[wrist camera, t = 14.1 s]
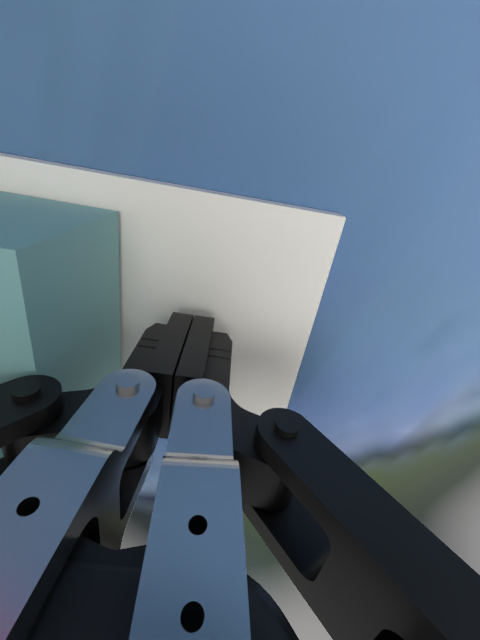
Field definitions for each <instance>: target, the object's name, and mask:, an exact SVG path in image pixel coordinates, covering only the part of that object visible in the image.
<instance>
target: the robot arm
mask: <svg viewBox="0 0 480 640" xmlns="http://www.w3.org/2000/svg"><path fill="white" fill-rule="evenodd" d="M214 321H215V318H212V317H205V316H199V315H195V316H194V315H192V314H185V313H178V312H173V313H172V315H171V317H170V319H169V321H168V323H167V324H160V323H155V324H153V325H152V326H150V327H148V328H147V329H146V330H145V331H144V333H143V335H142V336H141V339H140V340H139V341H138V343H137V345H136V346H135V348H134V350H133V351H132V353H131V355H130V356H129V358H128V360H127V361H126V363H125V365H124V367H123V368H122V370H118V371H115V372H112V373H110V374H108V375H107V376H105V377H104V378H103V379H102V380H101V381H100V382H99V384H98V385H97V386H96V388H93V389H88V390H78V391H67V392H62V386H61V383H60V382H59V381H58V380H57V379H55V378H53V377H50V376H46V375H28V376H23V377H19V378H16V379H13V380H10V381H7V382H4V383H2V384H0V448H1V449H2V453H3V456H4V457H2V458H0V640H299V639H298V637H297V635H296V634H295V632H294V630H293V629H292V627H291V625H290V623H289V622H288V620H287V619H286V617H285V615H284V614H283V612H282V611H281V609H280V608H279V606H278V605H277V604H276V602H275V601H274V600H273V599H272V597H271V596H270V595H269V594H268V593H267V592H266V591H265V590H264V589H263V587H261V585H260V584H259V583H257V582H256V581H255V580H254V579H252V578H251V577H250V576H249V575H248V574H247V572H246V557H245V543H244V526H243V511H244V513H245V514H246V516H247V517H248V519H249V520H250V522H251V523H252V525H253V526H254V527H255V529H256V530H257V531H258V533H259V535H260V536H261V537H262V539H263V540H264V541H265V543H266V545H267V546H268V547H269V549H270V550H271V552H272V553H273V555H274V556H275V557H276V559H277V560H278V561H279V563H280V565H281V566H282V567H283V569H284V570H285V572H286V573H287V575H288V576H289V577H290V579H291V580H292V582H293V583H294V585H295V586H296V587H297V589H298V590H299V592H300V593H301V595H302V596H303V597H304V599H305V600H306V602H307V603H308V605H309V606H310V607H311V609H312V610H313V612H314V613H315V614H316V616H317V617H318V619H319V620H320V622H321V623H322V625H323V626H324V627H325V629H326V630H327V632H328V633H329V635H330V636H331V637H332V639H333V640H480V575H479V574H477V573H476V572H475V571H474V570H473V569H472V568H471V567H470V566H469V565H468V564H466V563H465V562H464V561H463V560H462V559H461V558H460V557H458V555H456V554H455V553H454V552H453V551H452V550H451V549H450V548H449V547H448V546H446V545H445V544H444V543H443V542H442V541H441V540H440V539H439V538H438V537H436V536H435V535H434V534H433V533H432V532H431V531H430V530H428V528H426V527H425V526H424V525H423V524H422V523H421V522H420V521H419V520H418V519H416V518H415V517H414V516H413V515H412V514H411V513H410V512H409V511H408V510H406V509H405V508H404V507H403V506H402V505H401V504H400V503H399V502H397V501H396V500H395V499H394V498H393V497H392V496H391V495H390V494H389V493H387V492H386V491H385V490H384V489H383V488H382V487H381V486H379V485H378V484H377V483H376V482H375V481H374V480H373V479H372V478H371V477H370V476H369V475H367V474H366V473H365V472H364V471H363V470H362V469H361V468H360V467H359V466H357V465H356V464H355V463H354V462H353V461H352V460H351V459H350V458H349V457H347V456H346V455H345V454H344V453H343V452H342V451H341V450H340V449H339V448H337V447H336V446H335V445H334V444H333V443H332V442H331V441H330V440H329V439H327V438H326V437H325V436H324V435H323V434H322V433H321V432H320V431H319V430H317V429H316V428H315V427H314V426H313V425H312V424H311V423H310V422H309V421H307V420H306V419H305V418H304V417H303V416H301V415H300V414H298V413H297V412H294V411H292V410H289V409H285V408H271V409H268V410H266V411H264V412H263V413H262V414H261V415H260V416H259V415H257V414H254V413H252V412H249V411H247V410H245V409H243V408H242V407H240V406H239V405H238V404H237V403H236V402H235V401H234V400H233V399H232V397H231V395H230V392H229V385H230V370H231V356H232V340H231V339H230V337H229V335H228V334H227V333H222V332H215V331H213V328H214ZM169 432H170V433H169ZM168 435H169V439H168ZM158 437H159V438H167V439H168V445H167V450H166V455H165V456H164V457H163V460H162V465H161V470H160V475H159V481H158V486H157V491H156V497H155V502H154V507H153V513H152V518H151V523H150V529H149V534H148V539H147V544H146V545H143V546H138V547H132V548H126V549H120V548H121V543H122V538H123V535H124V531H125V528H126V525H127V523H128V520H129V518H130V515H131V513H132V510H133V508H134V505H135V503H136V500H137V498H138V495H139V493H140V491H141V488H142V486H143V483H144V481H145V478H146V476H147V473H148V471H149V468H150V466H151V463H152V459H153V452H154V450H155V447H156V444H157V441H158ZM242 510H243V511H242Z"/></svg>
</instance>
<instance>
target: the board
mask: <svg viewBox="0 0 480 640" xmlns="http://www.w3.org/2000/svg"><path fill="white" fill-rule="evenodd" d="M0 191H4V192H9V193H15V194H21V195H27V196H33V197H38V198H44V199H50V200H56V201H62V202H68V203H73V204H79V205H85V206H91V207H97V208H102V209H108V210H114V211H118V227H119V291H120V355H121V370H122V368H123V367H124V365H125V363H126V361H127V360H128V358H129V356H130V355H131V353H132V351H133V350H134V348H135V346H136V345H137V343H138V341H139V340H140V339H141V336H142V335H143V333H144V331H145V330H146V329H147V328H148V327H150V326H152V325H153V324H155V323H160V324H167V323H168V321H169V319H170V317H171V315H172V313H173V312H178V313H185V314H192V315H194V316H195V315H199V316H205V317H212V318H215V321H214V328H213V331H215V332H222V333H227V334H228V335H229V337H230V339H231V340H232V356H231V370H230V385H229V392H230V395H231V397H232V399H233V400H234V401H235V402H236V403H237V404H238V405H239V406H240V407H242V408H243V409H245V410H247V411H249V412H252V413H254V414H257V415H259V416H260V415H261V414H262V413H263V412H264V411H266V410H268V409H271V408H285V409H287V407H288V403H289V400H290V397H291V394H292V390H293V387H294V384H295V381H296V378H297V374H298V371H299V368H300V365H301V362H302V358H303V355H304V352H305V349H306V345H307V342H308V339H309V336H310V333H311V329H312V326H313V323H314V320H315V316H316V313H317V310H318V307H319V304H320V300H321V297H322V294H323V291H324V288H325V284H326V281H327V278H328V275H329V271H330V268H331V265H332V262H333V259H334V255H335V252H336V249H337V246H338V243H339V239H340V236H341V233H342V230H343V226H344V223H345V220H346V217H344V216H343V215H341V214H339V213H335V212H329V211H324V210H318V209H312V208H307V207H301V206H296V205H290V204H284V203H279V202H273V201H268V200H262V199H257V198H251V197H245V196H240V195H234V194H229V193H223V192H218V191H212V190H206V189H201V188H195V187H190V186H184V185H179V184H173V183H167V182H162V181H156V180H151V179H145V178H139V177H134V176H128V175H123V174H117V173H112V172H106V171H100V170H95V169H89V168H84V167H78V166H73V165H67V164H61V163H56V162H50V161H45V160H39V159H33V158H28V157H22V156H17V155H11V154H6V153H0Z"/></svg>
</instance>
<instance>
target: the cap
mask: <svg viewBox="0 0 480 640" xmlns="http://www.w3.org/2000/svg"><path fill="white" fill-rule="evenodd" d="M118 370H121V355H120V291H119V227H118V211H114V210H108V209H102V208H97V207H91V206H85V205H79V204H73V203H68V202H62V201H56V200H50V199H44V198H38V197H33V196H27V195H21V194H15V193H9V192H4V191H0V384H2V383H4V382H7V381H10V380H13V379H16V378H19V377H23V376H28V375H46V376H50V377H53V378H55V379H57V380H58V381H59V382H60V383H61V386H62V392H67V391H78V390H88V389H93V388H96V386H97V385H98V384H99V382H100V381H101V380H102V379H103V378H104V377H105V376H107V375H108V374H110V373H112V372H115V371H118ZM2 457H4V456H3V453H2V449H1V448H0V458H2Z"/></svg>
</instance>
